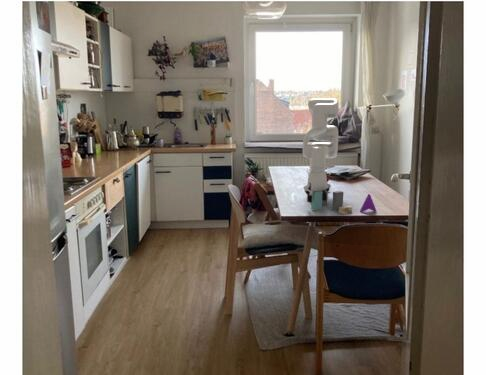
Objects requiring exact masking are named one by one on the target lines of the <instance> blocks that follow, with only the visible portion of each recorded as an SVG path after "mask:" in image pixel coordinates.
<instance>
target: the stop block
mask: <svg viewBox="0 0 486 375" xmlns="http://www.w3.org/2000/svg"><path fill="white" fill-rule="evenodd" d="M352 208H353V207H352V206H349V205H345V206H344V205H343V207H339V211H338V213H339V214H341V213H342V215H345V213H346V214H351V213H352V211H353V209H352Z"/></svg>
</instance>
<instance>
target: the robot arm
mask: <svg viewBox="0 0 486 375" xmlns="http://www.w3.org/2000/svg"><path fill="white" fill-rule="evenodd" d="M307 106H308V110H309V112H310V115H311V128H310V129H309V130H308V131H307V132H306V133H305V135H304V137H303V140H302V156H303V157H304V158H306V159H309V173H308V176H307V182H306V183H307V184H306V185H305V186H303V190H304V193H305V194H306V196H307V197H306V200H307V203H311V202H312V195H311V194H312V193H313V191H323V193H322V200H324V201H326V197H327V193H328V194H329V191H330V189H331V184H330V183H328V182H327V181H328V180H327V179H328V178H327V172H326V170H327V167H326V162H327V161H326V160H327V159H334V158H337V155H338V152H339V150H338V149H339V148H338V147H339V128H338V127H337V126H336V125H331V124H330V125H329V124H328V119H337V118H338V117H339V114H340V113H339V112H340V111H339V110H340V109H339V106H340V105H339V101H338V99H336V98H311V99H309V100H308V103H307ZM311 139H312V140H314V141H316V142H313V143H311V144H309V141H310V140H311ZM317 141H318V142H317ZM320 141H321V142H320Z"/></svg>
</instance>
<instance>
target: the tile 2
mask: <svg viewBox="0 0 486 375" xmlns="http://www.w3.org/2000/svg"><path fill="white" fill-rule="evenodd" d="M331 203H332V206H331V210H332V211H334V212H337V211H338V210H339V207H343V206H344V191H342V190H336V191H332V202H331ZM338 212H339V211H338Z"/></svg>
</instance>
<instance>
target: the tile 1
mask: <svg viewBox="0 0 486 375" xmlns="http://www.w3.org/2000/svg"><path fill="white" fill-rule="evenodd" d="M322 193H323V191H322ZM328 195H329V192H328V193H327V197H326V201H324V200H322V206H327V205H328Z"/></svg>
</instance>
